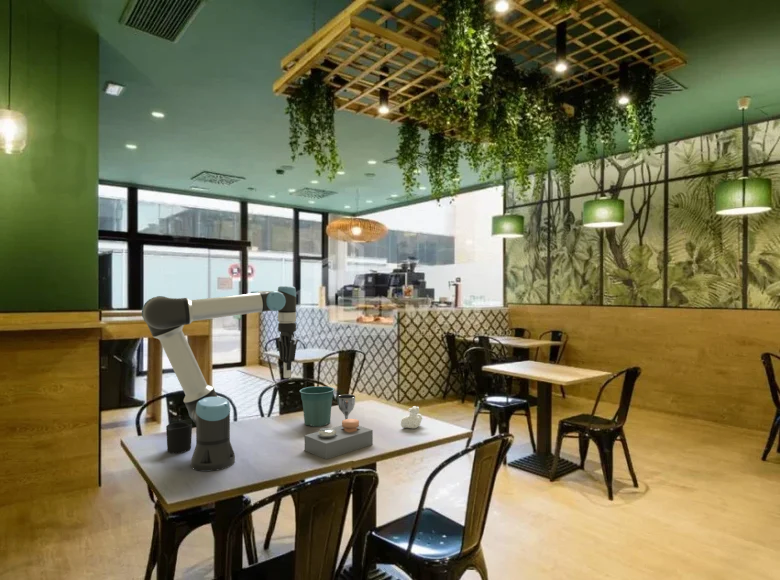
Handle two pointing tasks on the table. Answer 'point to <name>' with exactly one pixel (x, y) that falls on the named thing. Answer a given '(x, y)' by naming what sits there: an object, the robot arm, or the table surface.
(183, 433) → the pen holder
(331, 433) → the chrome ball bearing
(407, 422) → the bust
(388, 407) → the table surface
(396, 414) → the table surface
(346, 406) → the wine glass
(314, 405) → the flower pot
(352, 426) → the peach rounded piece
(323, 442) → the press console
